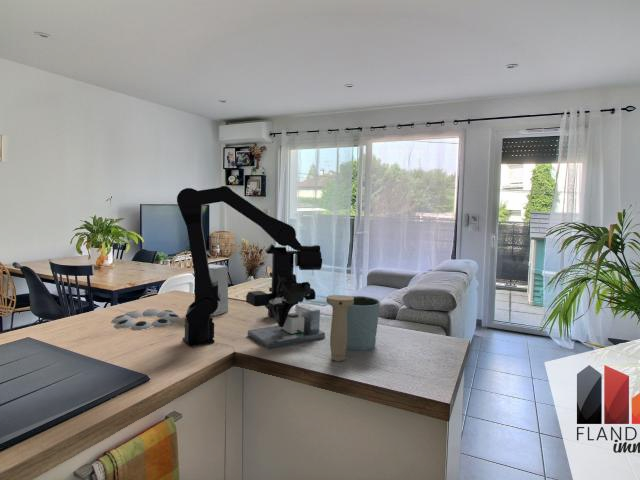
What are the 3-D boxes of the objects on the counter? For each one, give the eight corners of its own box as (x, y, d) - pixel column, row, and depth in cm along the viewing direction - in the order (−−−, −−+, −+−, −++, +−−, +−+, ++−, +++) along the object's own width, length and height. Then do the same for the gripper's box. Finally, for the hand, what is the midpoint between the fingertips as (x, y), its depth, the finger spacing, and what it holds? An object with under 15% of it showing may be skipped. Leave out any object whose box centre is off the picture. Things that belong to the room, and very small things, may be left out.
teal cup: (380, 341, 107) (382, 298, 106) (375, 354, 98) (377, 306, 97) (343, 336, 110) (345, 294, 109) (335, 348, 100) (337, 302, 99)
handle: (351, 364, 91) (354, 300, 90) (324, 362, 91) (326, 299, 90) (350, 356, 96) (353, 295, 94) (324, 355, 96) (326, 294, 95)
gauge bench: (268, 349, 98) (269, 320, 98) (247, 335, 108) (248, 308, 107) (324, 337, 108) (325, 311, 108) (301, 326, 118) (301, 301, 117)
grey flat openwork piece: (194, 320, 122) (194, 314, 121) (134, 336, 105) (134, 329, 105) (156, 309, 132) (156, 303, 132) (97, 322, 116) (96, 315, 116)
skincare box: (228, 312, 130) (229, 266, 129) (213, 316, 125) (214, 268, 123) (211, 308, 135) (211, 263, 133) (195, 312, 129) (196, 265, 128)
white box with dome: (296, 336, 104) (296, 320, 103) (280, 327, 110) (280, 313, 110) (313, 333, 107) (313, 318, 106) (296, 325, 114) (297, 310, 113)
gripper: (265, 277, 94) (264, 341, 95) (328, 272, 104) (326, 329, 106) (245, 270, 103) (244, 328, 104) (305, 266, 113) (303, 319, 115)
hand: (281, 326), depth 107 cm, fingers closed
